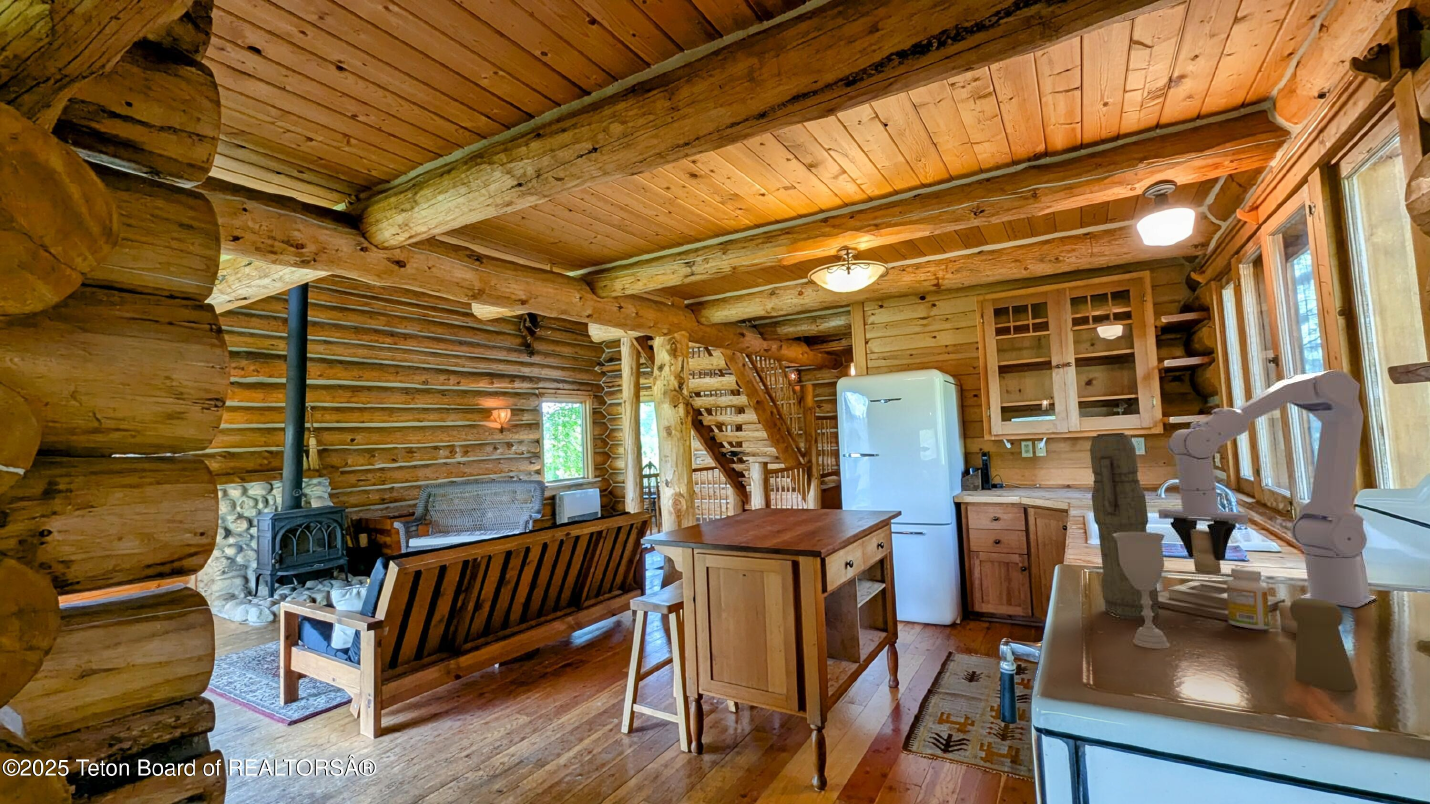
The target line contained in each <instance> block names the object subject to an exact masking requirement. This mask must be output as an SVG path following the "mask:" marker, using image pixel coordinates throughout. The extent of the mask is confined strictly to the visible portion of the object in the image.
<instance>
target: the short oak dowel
mask: <svg viewBox="0 0 1430 804" xmlns="http://www.w3.org/2000/svg"><path fill="white" fill-rule="evenodd" d="M1291 603H1292V602H1285V603H1279V604H1278V607H1279V608H1278V613H1279V621H1280V629H1282V630H1283V631H1286V632H1288V633H1289V632H1290V633H1295V634H1297V622H1296V621H1295V620H1294V619H1293V618H1292V616H1291V614H1290V605H1291Z"/></svg>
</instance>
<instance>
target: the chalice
mask: <svg viewBox="0 0 1430 804" xmlns="http://www.w3.org/2000/svg"><path fill="white" fill-rule="evenodd" d="M1113 536H1114V538H1115V539H1116V541H1117V544H1118V553H1119V561H1120V565H1121V567H1122V569H1123V571H1124V573H1125V575H1126V576H1127V578H1128V579H1129V581H1130V582H1131V584H1132V585H1133V587H1134V588H1136V589H1138V590H1141V593H1142V600H1141V604H1142V605H1143V607H1144V609H1143V612H1142V613H1141V614H1142V615H1143V616H1144V618H1145V620H1144V624H1143V625H1142V626H1141V627H1139V628H1138V629H1137V630H1136V633H1135V634H1134V638H1133V640H1132V643H1133V644H1134V645H1136V646H1140V647H1143V648H1146V649H1147V648H1148V649H1159V650H1160V649H1167V648H1169V647H1171V644H1170V643H1169V641H1167V638H1166V636H1165V635H1164V633H1163V631H1162V630H1160V629H1159V628H1156V626H1155V625H1154V623H1153V619H1152V616H1154V614H1153V613H1152V611H1151V609H1150V607H1151V604H1152V602H1151V601H1150V598H1149V591H1151V590H1154V589H1155V588H1156V586H1157V587H1158V584H1159V581H1161V578H1162V575H1163V572H1164V568H1165V560H1164V553H1163V544H1162V542H1163V540H1164V538H1165V534H1163V533H1158V532H1150V531H1147V532H1120V533H1115V534H1113Z"/></svg>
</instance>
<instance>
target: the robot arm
mask: <svg viewBox="0 0 1430 804" xmlns="http://www.w3.org/2000/svg"><path fill="white" fill-rule="evenodd" d="M1360 387H1361V384H1360V383H1359V382H1358V381H1357V380H1356V379H1354V377H1352V376H1351V375H1350V374H1348V373H1347V372H1345V371H1344V370H1340V369H1330V370H1326V371H1322V372H1313V373H1306V374H1293V375H1290V376H1289V377H1287V378H1285V379H1282V380H1280V381H1277V382H1276V383H1275V384H1274V385H1272V386H1270V387H1269V388H1267V389H1266V390H1264V391H1263V392H1261V393H1259V394H1258V395H1256V396H1255V397H1252V398H1251V399H1249V400H1248V401H1247V402H1245V403H1243V404H1242V405H1240V406H1238V407H1237V408H1232V407H1224V408H1222V407H1221V408H1220V407H1218V408H1215V409H1213V410H1212V411H1211V415H1209V416H1207V417H1205V418H1203V419H1202V420H1200V421H1193V422H1192V423H1190V427H1189V429H1178V430H1177V431H1175V432H1174V433H1172V435H1171V437H1170V438H1169V441H1168V442H1169V443H1166V447H1167V450H1168V452H1170V453H1171V454H1172V455H1173V457H1174V459H1175V460H1174V461H1175V464H1176V471H1177V479H1178V488H1179V495H1180V503H1181V508H1166V507H1165V508H1159V509H1158V510H1157V512H1158V519H1159V520H1162V519H1163V520H1166V519H1171V520H1172V521H1170V523H1169V525H1170V527H1171V528H1172V529H1173V530H1174V532H1175V533H1176V534H1177V535H1178V537H1179V539H1180V540H1181V542H1182V544H1183V546H1184V548H1185V550H1186V553H1187V556H1188V558H1193V550H1192V542H1191V534H1190V530H1193V529H1198V528H1197V526H1198V522H1210V523H1208V524H1206V527H1207V529H1209V532H1210V535H1211V538H1212V542H1213V549H1214V556H1215V560H1219V561H1220V562H1221V561H1224V560H1226V555H1227V554H1226V553H1227V547H1228V544H1229V541H1230V538H1231V536H1232V534H1233V532H1234V530H1235V529H1236V528H1237V527H1236V524H1237V525H1241V526H1242V525H1247V524H1248V525H1249V524H1250V521H1249V513H1247V512H1245V513H1244V512H1233V511H1225V510H1220V507H1219V501H1218V492H1217V485H1216V478H1215V470H1214V469H1215V468H1214V462H1213V461H1214V460H1213V456H1214V455H1215V454H1216V453H1217V452H1218V450H1219V447H1221V446H1223V445H1225V444H1226V443H1228V442H1230V441H1232V440H1233V439H1236V438H1238V437H1239V436H1242V435H1243V434H1244V433H1246V432H1248V431H1249V428H1250V423H1251V422H1253V421H1256V420H1258V419H1259V418H1261V417H1264V416H1266V415H1267V414H1270V413H1271V412H1274V411H1276V410H1277V409H1280V408H1282V407H1284V406H1285V405H1289V404H1290V405H1292V406H1294V407H1297V408H1299V409H1300V410H1302V411H1304V412H1306V413H1309V414H1311V415H1312V416H1313V417H1314V418H1316V419H1317V420H1318V421H1319V422H1320V423H1321V425H1320V433H1319V438H1318V439H1319V440H1318V448H1317V452H1316V453H1317V454H1316V460H1315V467H1314V468H1315V469H1314V474H1313V475H1314V476H1313V481H1312V489H1311V496H1310V500H1309V501H1308V502H1307V503H1305V504H1304V505H1302V506H1301V507H1300V508H1299V509H1298V514H1297V516H1296V518H1295V519H1294V521H1293V522H1292V524H1291V526H1290V534H1291V537H1292V539H1293V540H1294V541H1295V542H1296V543H1297V544H1298V545H1300V547H1301V551H1303V552H1304V553H1303V554H1304V563H1305V569H1306V570H1305V571H1306V576H1307V583H1308V591H1309V592H1308V593H1306V594H1304V595H1301V596H1300V597H1299V599H1306V598H1310V599H1320V600H1325V601H1329V602H1332V603H1334V604H1335V605H1337V606H1341V607H1350V608H1354V609H1355V608H1359V607H1361V606H1364V605H1366V604H1368V602H1369V601H1371V600H1372V599H1374V598H1376V597H1377V596H1376V595H1371V593H1370V588H1369V583H1368V582H1369V581H1368V580H1369V579H1368V575H1367V567H1366V565H1365V562H1364V561H1363V559H1361V554H1360V553H1362V551H1364V549H1365V548H1366V546H1367V543H1368V541H1367V538H1368V537H1367V534H1366V533H1365V529H1364V517H1363V516H1362V515H1360V513H1358V511H1357V510H1355V509H1354V507H1352V503H1353V502H1352V501H1353V497H1354V496H1353V495H1354V489H1355V487H1354V486H1355V481H1356V474H1357V466H1358V459H1359V454H1360V453H1359V452H1360V451H1359V450H1360V445H1361V439H1362V438H1361V437H1362V431H1363V424H1364V412H1363V410H1362V407H1361V404H1360V400H1359V394H1360ZM1375 596H1376V597H1375ZM1371 602H1372V601H1371ZM1365 603H1366V604H1365ZM1369 603H1370V602H1369Z"/></svg>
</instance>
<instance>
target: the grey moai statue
mask: <svg viewBox="0 0 1430 804" xmlns="http://www.w3.org/2000/svg"><path fill="white" fill-rule="evenodd" d="M1090 443H1091V444H1090V447H1089V455H1090V456H1089V457H1090V465H1091V471H1092V472H1091V473H1092V474H1093V481H1092V482H1093V489H1092V492H1091V503H1092V511H1093V520H1094V523H1095V524H1096V526H1097V530H1098V539H1099V547H1100V557H1101V563H1102V565H1101V567H1102V573H1103V574H1102V576H1101V581H1100V583H1101V592H1102V594H1101V595H1102V599H1103V600H1104V607H1105V608H1104V611H1105V610H1106V611H1105V613H1106V612H1107V613H1110V614H1113V615H1115V616H1119V617H1124V618H1129V619H1128V620H1132V619H1138V620H1137V621H1145V620H1144V619H1145V618H1144V616H1143V615H1142V614H1141V613H1142V612H1143V609H1144V607H1143V605H1142V604H1141V600H1142V593H1141V590H1138V589H1136V588H1134V587H1133V585H1132V584H1131V582H1130V581H1129V579H1128V578H1127V576H1126V575H1125V573H1124V571H1123V569H1122V567H1121V565H1120V561H1119V553H1118V544H1117V541H1116V539H1115V538H1114V536H1113V534H1115V533H1120V532H1148V530H1147V525H1148V524H1149V516H1148V509H1147V507H1148V506H1147V500H1146V494H1145V492H1144V490H1143V488H1142V486H1141V482H1140V481H1141V480H1140V479H1139V476H1138V474H1139V465H1138V459H1137V458H1138V457H1137V449H1136V446H1135V443H1134V441H1133V440H1132V437H1131V435H1130V434H1125V432H1109V433H1097V434H1096V436H1092V439H1091V442H1090ZM1158 593H1159V592H1158V585H1157V586H1156V588H1155V589H1154V590H1151V591H1149V598H1150V601H1151V602H1152V604H1151V607H1150V609H1151V611H1152V613H1153V614H1154V616H1152V618H1155V619H1157V618H1156V617H1158V616H1159V617H1160V611H1159V607H1158V602H1159V600H1158ZM1107 613H1106V614H1107ZM1115 616H1114V617H1115ZM1119 617H1118V618H1119ZM1159 617H1158V618H1159ZM1124 618H1123V619H1124Z"/></svg>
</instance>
